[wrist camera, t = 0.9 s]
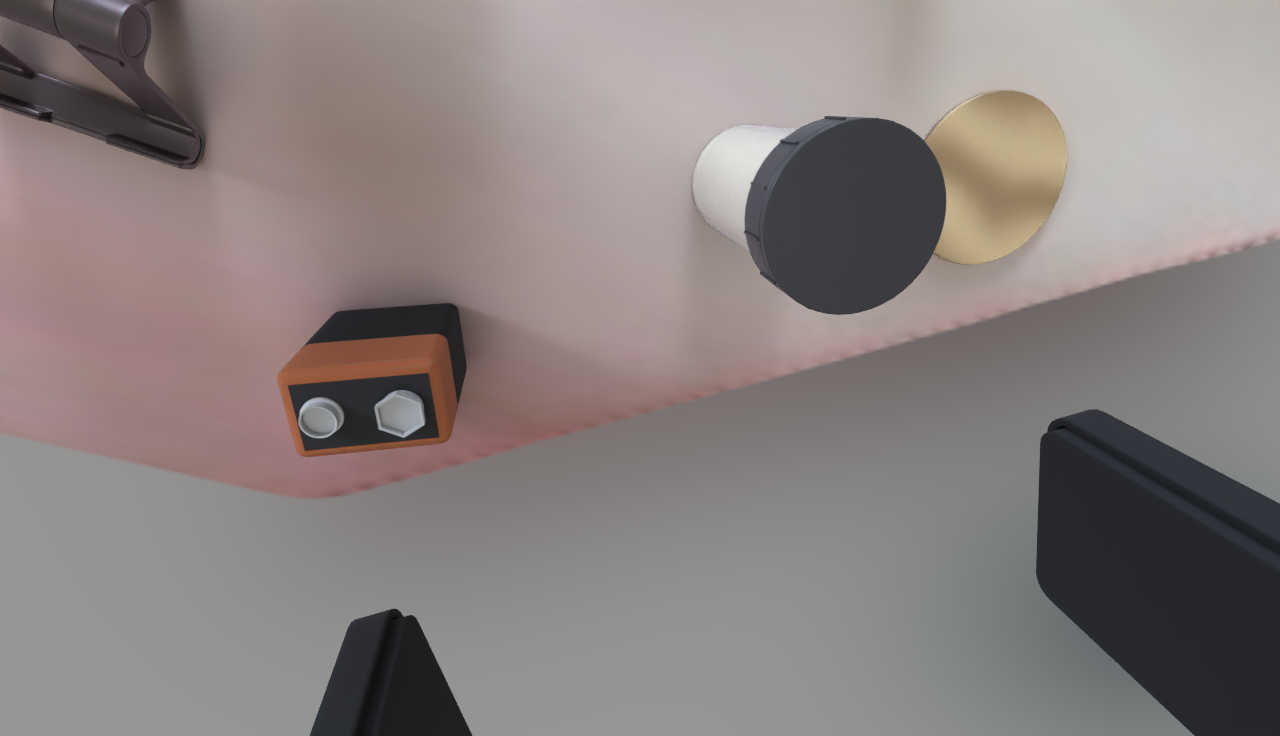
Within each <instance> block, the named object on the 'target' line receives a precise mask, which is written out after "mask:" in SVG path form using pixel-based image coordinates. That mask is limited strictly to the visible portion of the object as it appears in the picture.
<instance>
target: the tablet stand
mask: <svg viewBox="0 0 1280 736" xmlns="http://www.w3.org/2000/svg"><path fill="white" fill-rule="evenodd" d="M153 1H155V0H0V16H3V17H6V18H8V19H11V20H14V21H16V22H19V23H22V24H24V25H27V26H30V27H32V28H35V29H38V30H40V31H43V32H46V33H49V34H51V35H54V36H57V37H59V38H62V39H65V40H67V41H68V42H69V43H70V44H71V45H73V46H74V47H75V48H76V49H77V50H78V51H79V52H80V53H81V54H82V55H83V56H84V57H85V58H86V59H88V60H89V61H90V62H91V63H92V64H93V65H94V66H95V67H96V68H97V69H99V70H100V71H101V72H102V73H103V74H104V75H105V76H106V77H107V78H109V79H110V80H111V81H112V82H113V83H114V84H115V85H116V86H117V87H118V88H120V89H121V90H122V91H123V92H124V93H125V94H126V95H127V96H128V97H130V98H131V99H132V100H133V101H134V102H135V103H136V104H137V105H138V106H140V107H141V108H142V109H143V110H144V111H143V110H140V109H137V108H134V107H132V106H129V105H126V104H123V103H120V102H118V101H115V100H112V99H109V98H106V97H104V96H101V95H98V94H95V93H92V92H89V91H87V90H84V89H81V88H78V87H75V86H73V85H70V84H67V83H64V82H61V81H59V80H56V79H53V78H50V77H47V76H45V75H42V74H39V73H37V72H35V71H34V70H32V69H31V68H30V67H28V66H27V65H26V64H24V63H23V62H22V61H21V60H19V59H18V58H17V57H15V56H14V55H13V54H11V53H10V52H9V51H7V50H6V49H5V48H3V47H2V46H1V45H0V107H1V108H3V109H6V110H9V111H12V112H15V113H18V114H21V115H24V116H27V117H30V118H33V119H36V120H39V121H45V122H49V123H53V124H56V125H59V126H62V127H65V128H68V129H71V130H74V131H77V132H79V133H82V134H85V135H88V136H91V137H94V138H97V139H100V140H103V141H106V143H107V144H110V145H113V146H116V147H119V148H122V149H124V150H127V151H130V152H133V153H136V154H139V155H142V156H145V157H148V158H151V159H154V160H157V161H160V162H163V163H166V164H169V165H172V166H175V167H178V168H182V169H194V168H195V167H196V166H197V165H198V164H199V162H200V160H201V158H202V155H203V152H204V146H205V139H204V134H203V133H202V131H201V130H200V129H199V128H198V127H197V126H196V125H195V124H194V123H193V122H192V121H191V120H190V119H189V118H188V117H187V116H186V115H185V114H184V113H183V112H182V111H181V109H180V108H179V107H178V106H177V105H176V104H175V103H174V102H173V101H172V100H171V99H170V98H169V97H168V96H167V95H166V94H165V93H164V92H163V91H162V90H161V89H160V88H159V87H158V86H157V85H156V84H155V83H154V82H153V81H152V80H151V79H150V77H149V76H148V75H147V74H146V72H145V70H144V60H145V56H146V52H147V49H148V46H149V43H150V38H151V20H150V16H149V13H148V11H147V9H146V8H145V7H144V6H145V5H147V4H149V3H151V2H153Z"/></svg>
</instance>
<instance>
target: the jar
mask: <svg viewBox="0 0 1280 736" xmlns="http://www.w3.org/2000/svg"><path fill="white" fill-rule="evenodd" d="M796 130H797V129H795V128H784V127H773V126H762V125H740V126H736V127H732V128H730V129H727V130H725V131H724V132H722V133H720V134H719V135H717V136H716V137H715V138H714V139H713V140H712V141H711V142H710V143H709V144H708V145H707V146H706V147H705V149H704V150H703V152H702V153H701V155H700V157H699V159H698V161H697V164H696V167H695V170H694V175H693V195H694V200H695V203H696V206H697V208H698V210H699V212H700V214H701V215H702V217H703V218H704V219H705V220H706V222H707V223H708V224H709V225H711V226H712V227H713V228H714V229H716V230H717V231H719V232H720V233H722V234H723V235H725V236H726V237H728V238H729V239H731V240H733V241H734V242H736V243H737V244H739V245H740V246H742V247H743V248H745V249H746V250H748V251H749V247H748V244H747V240H746V235H745V234H744V231H745V221H744V219H745V207H746V202H747V197H748V193H749V190H750V187H751V184H750V183H751V182H753V180H754V177H755V175H756V173H757V171H758V169H759V168H760V166H761V165H762V163H763V161H764V160H765V159H766V157H767V156H768V155H769V153H770V152H771V151H772V150H773V149H774V148H775V147H776V146H777V145H778V144H779V143H780V140H781V139H784V138H786V137H787V136H788V135H790V134H791V133H792V132H794V131H796ZM749 252H750V251H749Z"/></svg>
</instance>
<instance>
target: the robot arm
mask: <svg viewBox="0 0 1280 736" xmlns="http://www.w3.org/2000/svg"><path fill="white" fill-rule="evenodd" d="M1036 565H1037V567H1036V574H1037V579H1038V582H1039V584H1040V587H1041V589H1042V590H1043V592H1044V593H1045V595H1046V596H1047V597H1048V598H1049V599H1050V600H1051V601H1052V602H1053V603H1054V604H1055V605H1056V606H1057V607H1058V608H1059V609H1060V610H1062V612H1064V613H1065V614H1066V615H1067V616H1068V617H1069V618H1070V619H1071V620H1072V621H1073V622H1074V623H1075V624H1077V626H1079V627H1080V628H1081V629H1082V630H1083V631H1084V632H1085V633H1086V634H1087V635H1088V636H1089V637H1090V638H1091V639H1093V641H1094V642H1096V643H1097V644H1098V645H1099V646H1100V647H1101V648H1102V649H1103V650H1104V651H1105V652H1106V653H1107V654H1108V655H1109V656H1110V657H1112V658H1113V659H1114V660H1115V661H1116V662H1117V663H1118V664H1119V665H1120V666H1121V667H1122V668H1123V669H1124V670H1125V671H1127V673H1129V674H1130V675H1131V676H1132V677H1133V678H1134V679H1135V680H1136V681H1137V682H1138V683H1139V684H1140V685H1141V686H1142V687H1143V688H1144V689H1146V690H1147V691H1148V692H1149V693H1150V694H1151V695H1152V696H1153V697H1154V698H1155V699H1156V700H1157V701H1158V702H1159V703H1160V704H1162V705H1163V706H1164V707H1165V708H1166V709H1167V710H1168V711H1169V712H1170V713H1171V714H1172V715H1173V716H1174V717H1175V718H1176V719H1178V720H1179V721H1180V722H1181V723H1182V724H1183V725H1184V726H1185V727H1186V728H1187V729H1188V730H1189V731H1190V732H1191V733H1192V734H1194V735H1195V736H1280V504H1279V503H1277V502H1275V501H1273V500H1271V499H1269V498H1268V497H1266V496H1264V495H1262V494H1260V493H1258V492H1256V491H1254V490H1252V489H1250V488H1249V487H1247V486H1245V485H1243V484H1241V483H1239V482H1237V481H1235V480H1233V479H1231V478H1229V477H1227V476H1225V475H1224V474H1222V473H1220V472H1218V471H1216V470H1214V469H1212V468H1210V467H1208V466H1206V465H1204V464H1203V463H1201V462H1199V461H1196V460H1195V459H1193V458H1191V457H1189V456H1187V455H1185V454H1183V453H1182V452H1179V451H1178V450H1176V449H1174V448H1172V447H1170V446H1168V445H1166V444H1164V443H1162V442H1160V441H1159V440H1156V439H1155V438H1153V437H1151V436H1149V435H1147V434H1145V433H1143V432H1141V431H1139V430H1137V429H1136V428H1134V427H1132V426H1130V425H1128V424H1126V423H1124V422H1122V421H1120V420H1118V419H1116V418H1114V417H1113V416H1111V415H1109V414H1107V413H1105V412H1102V411H1100V410H1097V409H1096V410H1087V411H1083V412H1080V413H1076V414H1073V415H1069V416H1066V417H1063V418H1059V419H1056V420H1054V421H1052V422H1051V424H1050V425H1049V427H1048V431H1047V433H1045V434H1044V435H1043V436H1042V438H1041V443H1040V470H1039V503H1038V532H1037V563H1036ZM310 736H472V734H471V732H470V730H469V728H468V726H467V723H466V721H465V719H464V717H463V715H462V713H461V711H460V709H459V707H458V705H457V702H456V700H455V698H454V696H453V694H452V692H451V690H450V688H449V686H448V684H447V681H446V679H445V677H444V675H443V673H442V671H441V669H440V667H439V665H438V663H437V661H436V658H435V656H434V654H433V652H432V650H431V648H430V646H429V644H428V642H427V639H426V637H425V635H424V633H423V631H422V629H421V627H420V625H419V623H418V621H417V619H416V618H415V617H414V616H413V615H409V616H406V617H403V615H402V614H401V612H399V610H397V609H391V610H387V611H384V612H381V613H377V614H374V615H370V616H366V617H363V618H359V619H356V620H354V621H353V622H351V624H350V626H349V627H348V630H347V633H346V636H345V638H344V641H343V644H342V646H341V650H340V652H339V655H338V658H337V661H336V664H335V666H334V669H333V672H332V675H331V677H330V680H329V683H328V686H327V689H326V692H325V694H324V697H323V700H322V703H321V706H320V708H319V711H318V714H317V717H316V719H315V722H314V725H313V728H312V731H311V734H310Z"/></svg>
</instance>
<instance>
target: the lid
mask: <svg viewBox="0 0 1280 736" xmlns="http://www.w3.org/2000/svg"><path fill="white" fill-rule="evenodd" d="M750 184H751V187H750V190H749V193H748V197H747V202H746V207H745V219H744V221H745V231H744V234H745V235H746V240H747V244H748V247H749V251H750V254H751V256H752V258H753V260H754V262H755V264H756V265H757V267H758V268H759V270H760V271H761V272H760V274H761V275H762V276H763V277H764V278H766V279H767V280H769V281H770V282H771V283H772V284H774V285H775V286H776V287H777V288H779V289H780V290H781V291H783V292H784V293H786V294H787V295H788V296H790V297H791V298H792V299H794V300H795V301H797V302H798V303H800V304H802V305H803V306H805V307H807V308H808V309H812V310H815V311H818V312H822V313H827V314H837V315H839V314H852V313H858V312H862V311H866V310H869V309H872V308H874V307H877V306H879V305H881V304H883V303H885V302H887V301H889V300H890V299H892V298H894V297H895V296H896V295H898V294H899V293H900V292H902V291H903V290H904V289H905V288H906V287H907V286H908V285H910V284H911V283H912V282H913V281H914V279H915V278H916V277H917V276H918V275H919V274H920V273H921V271H922V270H923V269H924V267H925V266H926V264H927V263H928V261H929V260H930V258H931V256H932V254H933V252H934V251H935V248H936V246H937V244H938V241H939V239H940V236H941V232H942V229H943V225H944V220H945V215H946V187H945V182H944V177H943V174H942V171H941V167H940V165H939V163H938V161H937V159H936V157H935V155H934V153H933V152H932V151H931V149H930V148H929V146H928V145H927V144H926V143H925V142H924V141H923V140H922V139H921V137H920V136H918V135H917V134H916V133H914V132H913V131H912V130H910V129H908V128H907V127H905V126H903V125H901V124H898V123H896V122H894V121H890V120H885V119H879V118H861V117H839V116H825V119H821V120H818V121H814V122H812V123H809V124H807V125H805V126H803V127H801V128H799V129H797V130H796V131H794V132H792V133H791V134H790V135H788V136H787V137H786V138H784V139H781V140H780V143H779V144H778V145H777V146H776V147H775V148H774V149H773V150H772V151H771V152H770V153H769V155H768V156H767V157H766V159H765V160H764V161H763V163H762V165H761V166H760V168H759V169H758V171H757V173H756V175H755V177H754V180H753V182H751V183H750Z"/></svg>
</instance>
